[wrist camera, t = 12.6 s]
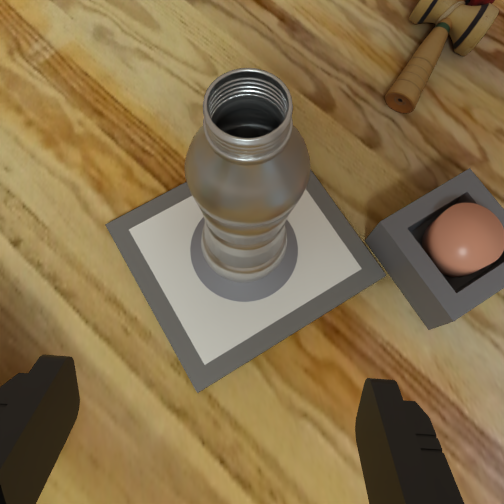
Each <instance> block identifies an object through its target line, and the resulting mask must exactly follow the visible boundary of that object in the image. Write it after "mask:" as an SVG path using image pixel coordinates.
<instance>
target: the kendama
mask: <svg viewBox="0 0 504 504" xmlns="http://www.w3.org/2000/svg"><path fill="white" fill-rule="evenodd" d="M493 2H494V0H420V1H419V2H418V4H417V5H416V7H415V8H414V10H413V11H412V13H411V15H410V16H409V20H410V21H411V22H413V23H414V24H420V23H428V22H429V23H435V25H436V26H435V27H434V29H433V30H432V31H431V32H430V34H429V35H428V36H427V37H426V38H425V40H424V41H423V42H422V44H421V45H420V46H419V48H418V49H417V50H416V52H415V53H414V55H413V56H412V58H411V59H410V61H409V62H408V64H407V65H406V67H405V68H404V69H403V71H402V72H401V74H400V75H399V77H398V78H397V80H396V81H395V82H394V84H393V85H392V86H391V88H390V89H389V90H388V92H387V93H386V95H385V102H386V104H387V105H388V106H389V107H390V108H391V109H393V110H395V111H397V112H400V113H410V112H412V111H413V110H414V108H415V106H416V104H417V102H418V100H419V97H420V95H421V93H422V91H423V89H424V87H425V85H426V83H427V80H428V79H429V77H430V75H431V73H432V70H433V69H434V67H435V65H436V63H437V61H438V58H439V56H440V54H441V52H442V49H443V47H444V44H445V42H446V39H447V36H448V34H449V35H450V37H451V39H452V41H453V47H454V51H455V52H456V53H458V54H460V55H462V56H466V55H467V54H468V53H470V52H471V51H472V49H473V48H474V47H475V46H476V45H477V44H478V42H479V41H480V40H481V39H482V37H483V36H484V35H485V34H486V32H487V31H488V29H489V28H490V27H491V25H492V24H493V22H494V20H495V19H496V17H497V15H498V13H499V9H498V8H497V7H495V6H494V5H492V3H493Z"/></svg>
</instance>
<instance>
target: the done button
mask: <svg viewBox="0 0 504 504" xmlns="http://www.w3.org/2000/svg"><path fill="white" fill-rule="evenodd" d="M422 248H423V250H424V251H425V252H426V254H427V255H428V256H429V258H430V259H431V260H432V262H433V263H434V264H435V266H436V267H437V268H438V270H439V271H440V272H441V273H442V274H445V275H447V276H451V277H464V276H468V275H470V274H472V273H474V272H476V271H478V270H480V269H482V268H484V267H486V266H487V265H489V264H491V263H493V262H495V261H496V260H497V259H498V258H499V257H500V256H501V254H502V253H503V251H504V228H503V226H502V224H501V222H500V220H499V219H498V218H497V217H496V216H495V214H493V213H492V212H491V211H490V210H488V209H487V208H485V207H483V206H481V205H478V204H474V203H459V204H455V205H453V206H451V207H449V208H448V209H447V210H446V211H444V212H443V213H442V214H441V215H440V216H439V217H438V218H437V219H436V220H434V221H433V222H432V223H431V224H430V225H429V226H428V227H427V228H426V230H425V232H424V234H423V238H422Z"/></svg>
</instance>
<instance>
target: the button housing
mask: <svg viewBox="0 0 504 504" xmlns="http://www.w3.org/2000/svg"><path fill="white" fill-rule="evenodd" d="M459 203H474V204H478V205H481V206H483V207H485V208H487V209H488V210H490V211H491V212H492V213H493V214H495V216H496V217H497V218H498V219H499V220H500V222H501V224H502V226H503V228H504V209H503V208H502V207H501V206H500V204H499V203H498V202H497V201H496V199H495V198H494V197H493V196H492V195H491V193H490V192H489V191H488V190H487V189H486V187H485V186H484V185H483V184H482V183H481V181H480V180H479V179H478V178H477V177H476V175H475V174H474V173H473V172H472V170H471V169H470V168H469V169H468V170H466V171H464V172H463V173H461V174H459V175H458V176H456V177H454V178H453V179H451V180H449V181H447V182H446V183H444V184H442V185H441V186H439V187H437V188H436V189H434V190H432V191H431V192H429V193H427V194H426V195H424V196H422V197H421V198H419V199H417V200H416V201H414V202H412V203H411V204H409V205H407V206H405V207H404V208H402V209H400V210H399V211H397V212H395V213H394V214H392V215H390V216H389V217H387V218H385V219H384V220H382V221H380V222H379V224H378V225H377V226H376V227H375V228H374V230H373V231H372V232H371V233H370V235H369V236H368V237H367V238H366V240H365V242H366V243H367V244H368V246H369V247H370V249H371V250H372V251H373V253H374V254H375V256H376V257H377V258H378V260H379V261H380V263H381V264H382V265H383V267H384V268H385V270H386V271H387V272H388V274H389V275H390V277H391V278H392V279H393V281H394V282H395V283H396V285H397V286H398V288H399V289H400V290H401V292H402V293H403V295H404V296H405V297H406V299H407V300H408V302H409V303H410V304H411V306H412V307H413V309H414V310H415V311H416V313H417V314H418V316H419V317H420V318H421V320H422V321H423V323H424V324H425V325H426V327H427V328H428V330H430V329H433V328H436V327H439V326H442V325H444V324H447V323H450V322H453V321H455V320H456V319H458V318H459V317H461V316H462V315H464V314H465V313H467V312H468V311H470V310H471V309H473V308H474V307H476V306H477V305H479V304H480V303H482V302H483V301H485V300H486V299H488V298H489V297H491V296H492V295H494V294H495V293H497V292H498V291H500V290H501V289H503V288H504V251H503V253H502V254H501V256H500V257H499V258H498V259H497V260H496V261H495V262H493V263H491V264H489V265H487V266H486V267H484V268H482V269H480V270H478V271H476V272H474V273H472V274H470V275H468V276H464V277H451V276H447V275H445V274H442V273H441V272H440V271H439V270H438V268H437V267H436V266H435V264H434V263H433V262H432V260H431V259H430V258H429V256H428V255H427V254H426V252H425V251H424V250H423V248H422V238H423V234H424V232H425V230H426V228H427V227H428V226H429V225H430V224H431V223H432V222H433V221H434V220H436V219H437V218H438V217H439V216H440V215H441V214H442V213H443V212H444V211H446V210H447V209H448V208H449V207H451V206H453V205H455V204H459Z"/></svg>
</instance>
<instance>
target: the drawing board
mask: <svg viewBox="0 0 504 504" xmlns="http://www.w3.org/2000/svg"><path fill="white" fill-rule="evenodd" d="M204 224H205V219H204V216H203V213H202V211H201V210H200V208H199V206H198V205H197V203H196V202H195V200H194V198H193V196H192V194H191V192H190V189H189V187H188V184H187V182H185V183H183V184H182V185H180V186H178V187H176V188H174V189H172V190H170V191H168V192H166V193H164V194H163V195H161V196H159V197H157V198H155V199H153V200H151V201H149V202H147V203H145V204H144V205H142V206H140V207H138V208H136V209H134V210H132V211H130V212H128V213H126V214H125V215H123V216H121V217H119V218H117V219H115V220H113V221H111V222H109V223H107V224H106V227H107V229H108V231H109V232H110V234H111V236H112V238H113V240H114V242H115V243H116V245H117V247H118V249H119V251H120V252H121V254H122V256H123V258H124V260H125V262H126V263H127V265H128V267H129V269H130V271H131V273H132V274H133V276H134V278H135V280H136V282H137V284H138V285H139V287H140V289H141V291H142V293H143V295H144V296H145V298H146V300H147V302H148V304H149V306H150V307H151V309H152V311H153V313H154V315H155V316H156V318H157V320H158V322H159V324H160V326H161V327H162V329H163V331H164V333H165V335H166V337H167V338H168V340H169V342H170V344H171V346H172V348H173V349H174V351H175V353H176V355H177V357H178V359H179V360H180V362H181V364H182V366H183V368H184V370H185V371H186V373H187V375H188V377H189V379H190V380H191V382H192V384H193V386H194V388H195V390H196V391H197V393H199V392H200V391H202V390H203V389H205V388H207V387H208V386H210V385H211V384H213V383H215V382H216V381H218V380H219V379H221V378H223V377H224V376H226V375H227V374H229V373H231V372H232V371H234V370H236V369H237V368H239V367H240V366H242V365H244V364H245V363H247V362H248V361H250V360H252V359H253V358H255V357H256V356H258V355H260V354H261V353H263V352H264V351H266V350H268V349H269V348H271V347H272V346H274V345H276V344H277V343H279V342H280V341H282V340H284V339H285V338H287V337H289V336H290V335H292V334H293V333H295V332H297V331H298V330H300V329H301V328H303V327H305V326H306V325H308V324H309V323H311V322H313V321H314V320H316V319H317V318H319V317H321V316H322V315H324V314H325V313H327V312H329V311H330V310H332V309H333V308H335V307H337V306H338V305H340V304H342V303H343V302H345V301H346V300H348V299H350V298H351V297H353V296H354V295H356V294H358V293H359V292H361V291H362V290H364V289H366V288H367V287H369V286H370V285H372V284H374V283H375V282H377V281H378V280H380V279H382V278H383V277H385V276H386V274H385V273H384V271H383V270H382V269H381V267H380V266H379V264H378V263H377V262H376V260H375V259H374V257H373V256H372V255H371V253H370V252H369V250H368V249H367V248H366V246H365V245H364V243H363V242H362V241H361V239H360V238H359V236H358V235H357V234H356V232H355V231H354V229H353V228H352V227H351V225H350V224H349V222H348V221H347V220H346V218H345V217H344V215H343V214H342V213H341V211H340V210H339V208H338V207H337V206H336V204H335V203H334V201H333V200H332V199H331V197H330V196H329V194H328V193H327V192H326V190H325V189H324V187H323V186H322V185H321V183H320V182H319V180H318V179H317V178H316V176H315V175H314V173H313V172H312V171H311V169H310V177H309V180H308V183H307V186H306V189H305V191H304V193H303V195H302V196H301V198H300V200H299V201H298V203H297V204H296V206H295V207H294V208H293V210H292V211H291V212H290V214H289V215H288V217H287V220H286V222H285V227H286V233H287V248H286V252H285V255H284V257H283V259H282V261H281V263H280V264H279V265H278V266H277V267H276V268H275V270H273V271H272V272H271V273H269V274H268V275H267V276H266V277H264V278H262V279H260V280H257V281H253V282H247V283H240V282H233V281H230V280H227V279H225V278H223V277H221V276H220V275H219V274H217V273H216V272H215V271H214V270H213V269H212V268H211V267H210V266H209V264H208V263H207V262H206V260H205V258H204V256H203V252H202V249H201V237H202V231H203V227H204Z"/></svg>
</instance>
